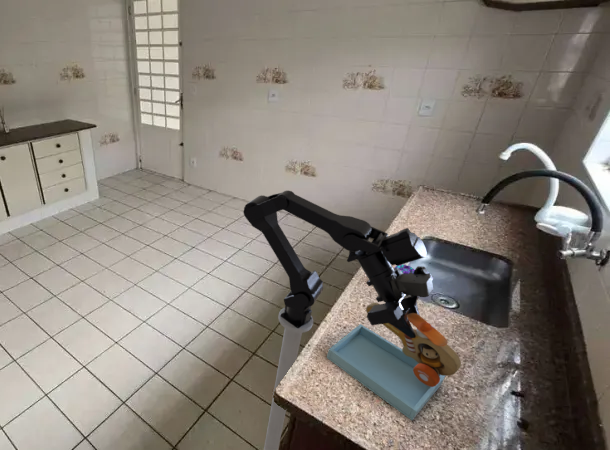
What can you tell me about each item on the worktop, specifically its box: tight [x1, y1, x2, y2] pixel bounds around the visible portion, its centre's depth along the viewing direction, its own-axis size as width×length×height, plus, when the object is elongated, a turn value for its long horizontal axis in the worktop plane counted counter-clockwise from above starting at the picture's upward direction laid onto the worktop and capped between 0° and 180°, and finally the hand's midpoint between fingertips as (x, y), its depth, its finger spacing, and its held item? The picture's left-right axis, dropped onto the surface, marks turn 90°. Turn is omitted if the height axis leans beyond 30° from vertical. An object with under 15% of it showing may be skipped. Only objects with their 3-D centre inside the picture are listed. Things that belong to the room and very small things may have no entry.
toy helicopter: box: [365, 302, 462, 387], centre depth 79 cm, size 8×21×14 cm, turn 30°
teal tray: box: [326, 323, 446, 421], centre depth 84 cm, size 21×15×3 cm
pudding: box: [394, 264, 415, 274], centre depth 114 cm, size 12×12×5 cm
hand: (416, 332), depth 78 cm, fingers closed on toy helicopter, 4 cm apart
